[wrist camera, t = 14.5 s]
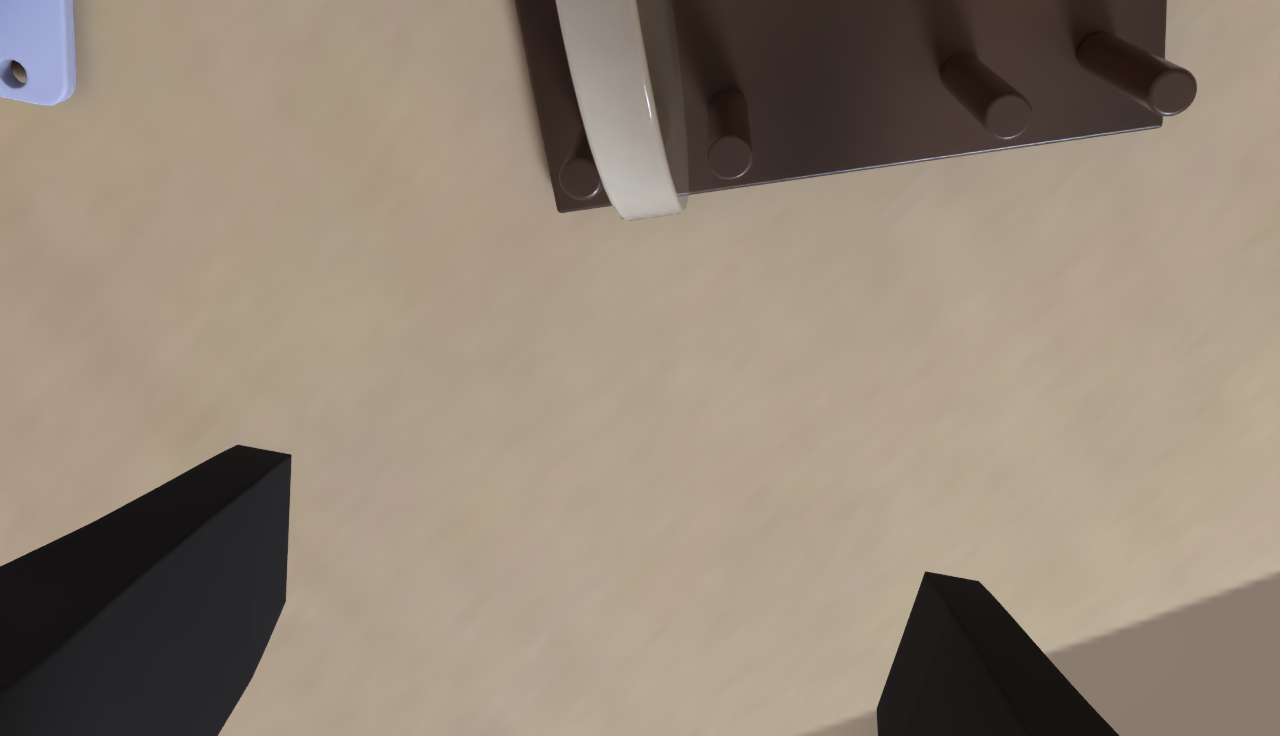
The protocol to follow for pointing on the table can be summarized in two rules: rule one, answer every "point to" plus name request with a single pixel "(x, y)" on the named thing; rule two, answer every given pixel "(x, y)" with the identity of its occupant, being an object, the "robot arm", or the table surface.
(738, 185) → the plate rack
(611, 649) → the table surface
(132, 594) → the robot arm
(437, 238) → the table surface
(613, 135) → the cream saucer
